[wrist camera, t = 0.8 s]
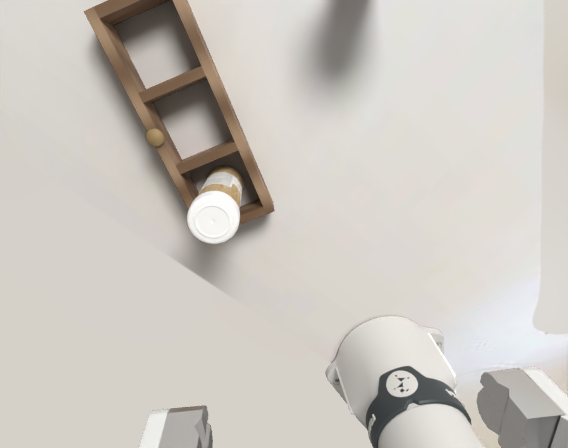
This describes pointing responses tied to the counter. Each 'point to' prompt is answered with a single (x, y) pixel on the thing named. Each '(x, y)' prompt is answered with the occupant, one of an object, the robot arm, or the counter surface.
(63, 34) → the counter surface
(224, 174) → the sprinkles bottle
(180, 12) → the spice caddy
